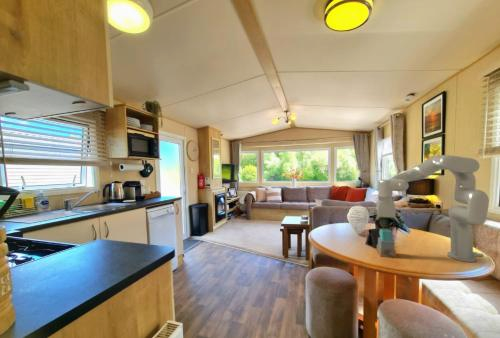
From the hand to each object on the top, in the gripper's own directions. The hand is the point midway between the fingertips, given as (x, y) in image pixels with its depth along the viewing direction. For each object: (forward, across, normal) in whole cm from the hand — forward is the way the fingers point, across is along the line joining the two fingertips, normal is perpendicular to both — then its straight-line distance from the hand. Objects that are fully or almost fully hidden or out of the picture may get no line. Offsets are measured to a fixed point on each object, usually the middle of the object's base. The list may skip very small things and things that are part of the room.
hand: (386, 226), depth 134 cm
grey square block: (+19, 0, 0) cm, 19 cm away
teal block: (+9, 0, 0) cm, 9 cm away
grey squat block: (+14, 0, 0) cm, 14 cm away
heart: (+19, +8, -40) cm, 45 cm away
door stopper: (+19, +4, -15) cm, 24 cm away
